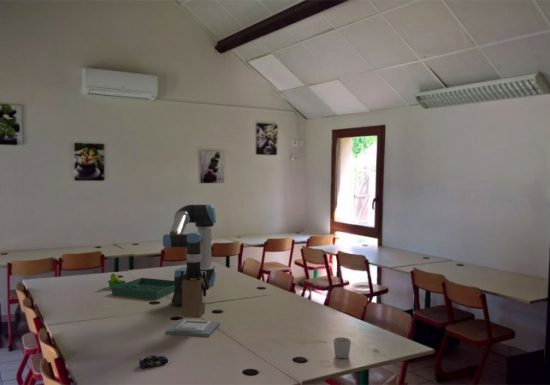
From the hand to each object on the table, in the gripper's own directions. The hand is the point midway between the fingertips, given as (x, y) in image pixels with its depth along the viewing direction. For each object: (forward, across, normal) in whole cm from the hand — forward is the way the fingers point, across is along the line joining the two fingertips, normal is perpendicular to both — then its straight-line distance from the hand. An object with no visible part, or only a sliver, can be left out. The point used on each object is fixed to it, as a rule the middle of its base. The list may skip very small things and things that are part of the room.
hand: (193, 301), depth 270 cm
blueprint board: (+15, 0, 0) cm, 15 cm away
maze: (+16, -58, +72) cm, 94 cm away
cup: (+16, +81, -23) cm, 86 cm away
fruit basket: (+15, -85, +76) cm, 115 cm away
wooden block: (+8, 0, 0) cm, 8 cm away
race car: (+16, -1, -49) cm, 52 cm away
